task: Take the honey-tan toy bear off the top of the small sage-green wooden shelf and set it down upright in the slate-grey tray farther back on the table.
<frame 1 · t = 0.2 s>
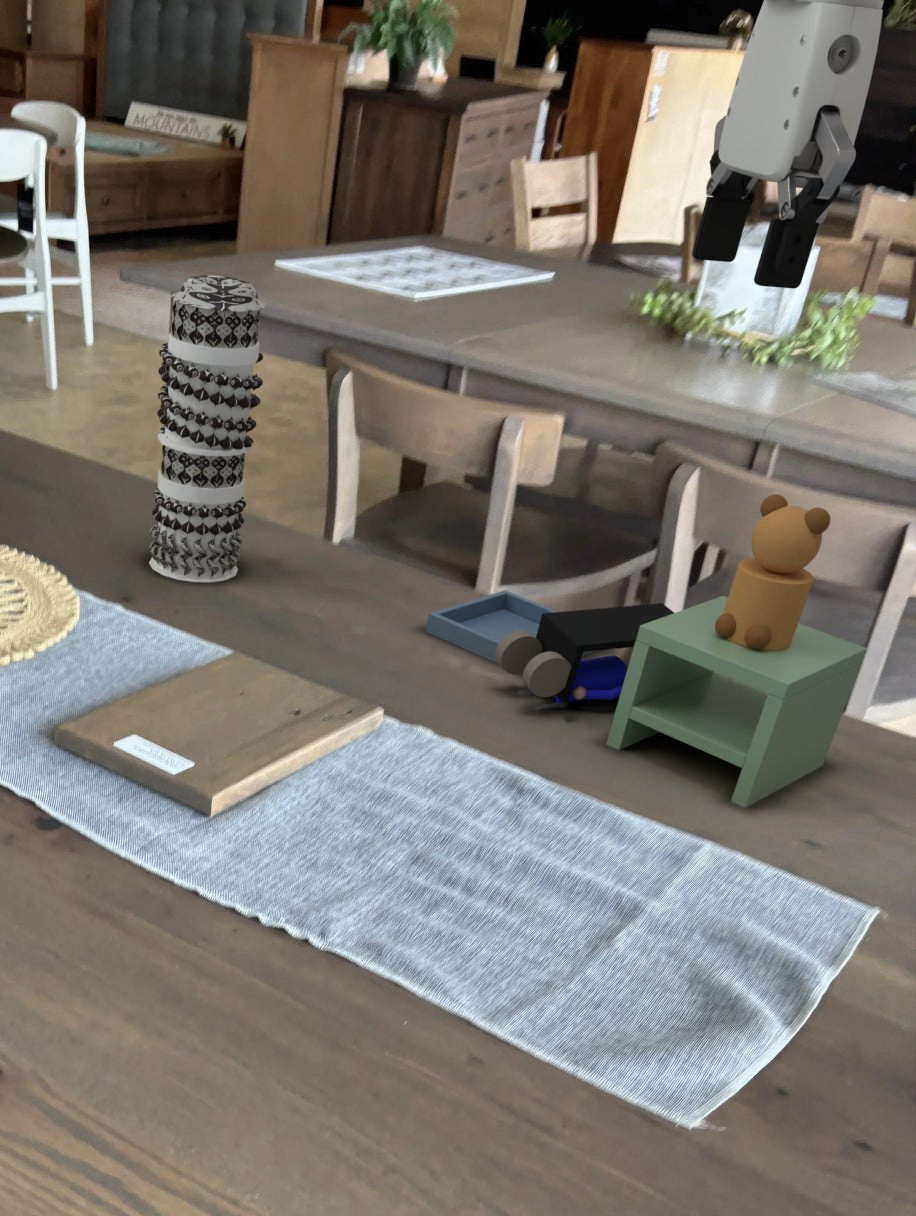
hand: (742, 272, 99), 32 cm above the table, tool pointing down, fingers open, 9 cm apart
shelf: (713, 758, 109), on the table
tray: (513, 643, 125), on the table
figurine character: (583, 704, 116), on the table
decorative candle: (192, 571, 134), on the table
toy bear: (754, 636, 104), point 10 cm above the table, touching shelf
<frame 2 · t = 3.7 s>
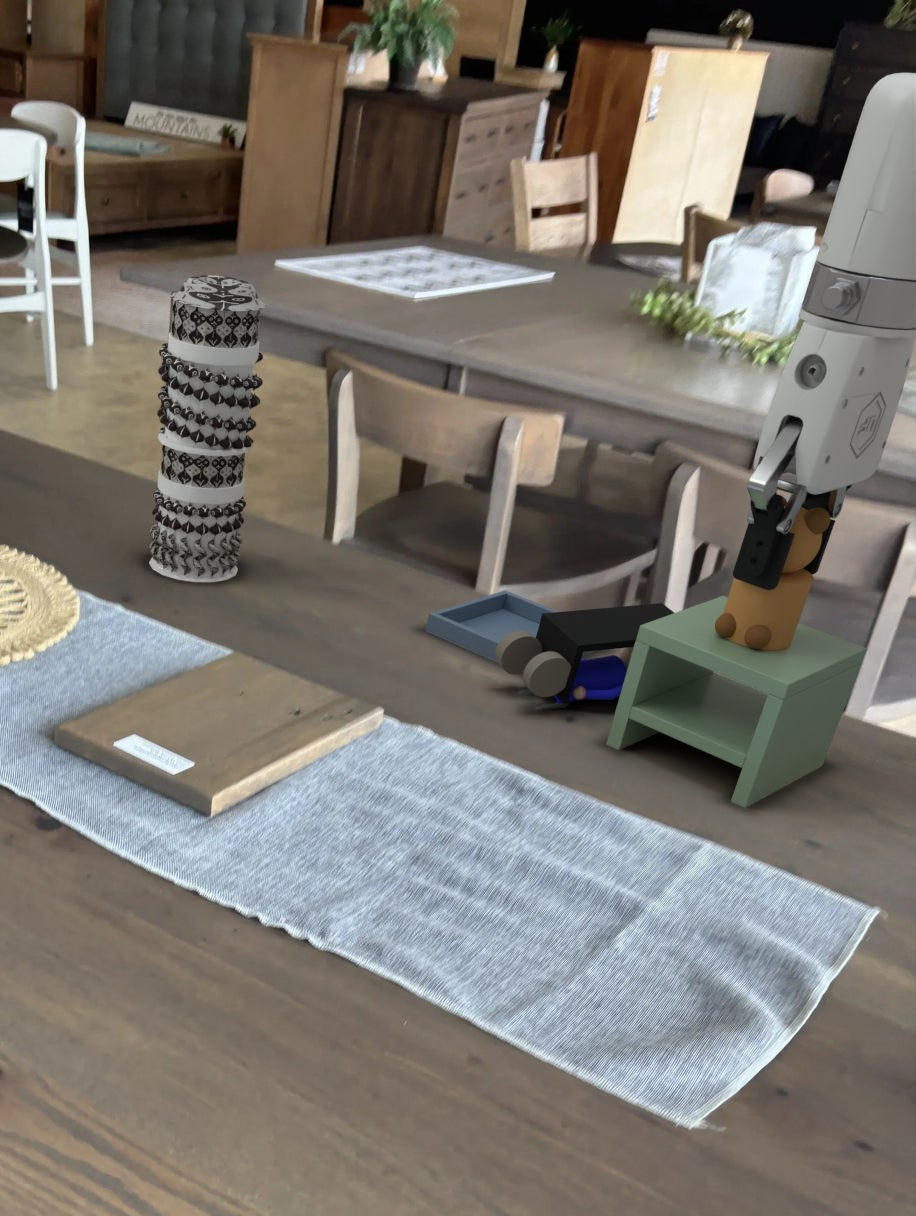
hand: (775, 573, 101), 15 cm above the table, tool pointing down, fingers closed on toy bear, 5 cm apart
toy bear: (754, 636, 104), point 10 cm above the table, touching gripper, shelf
everything else where it was.
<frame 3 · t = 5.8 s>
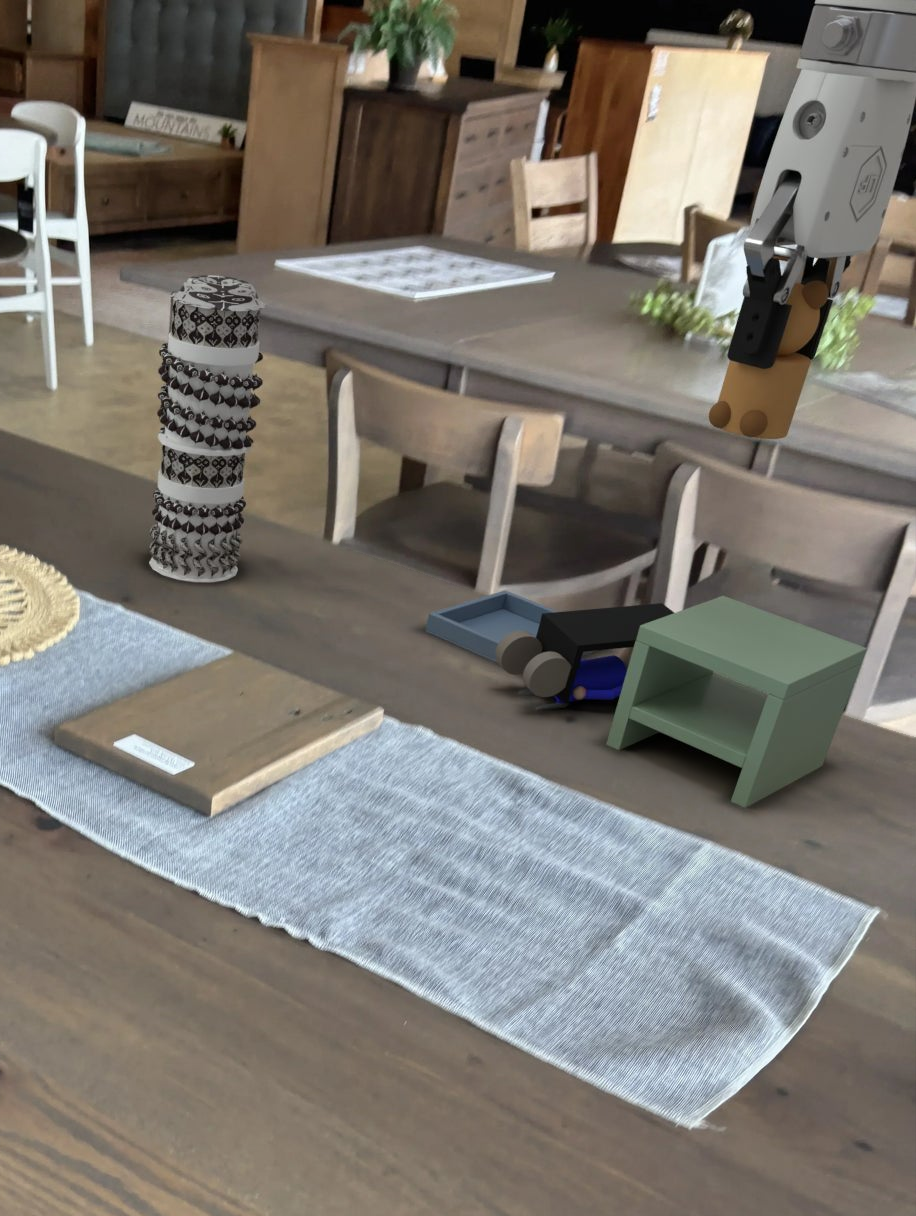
hand: (770, 357, 97), 28 cm above the table, tool pointing down, fingers closed on toy bear, 5 cm apart
toy bear: (749, 428, 100), point 23 cm above the table, touching gripper
everything else where it was.
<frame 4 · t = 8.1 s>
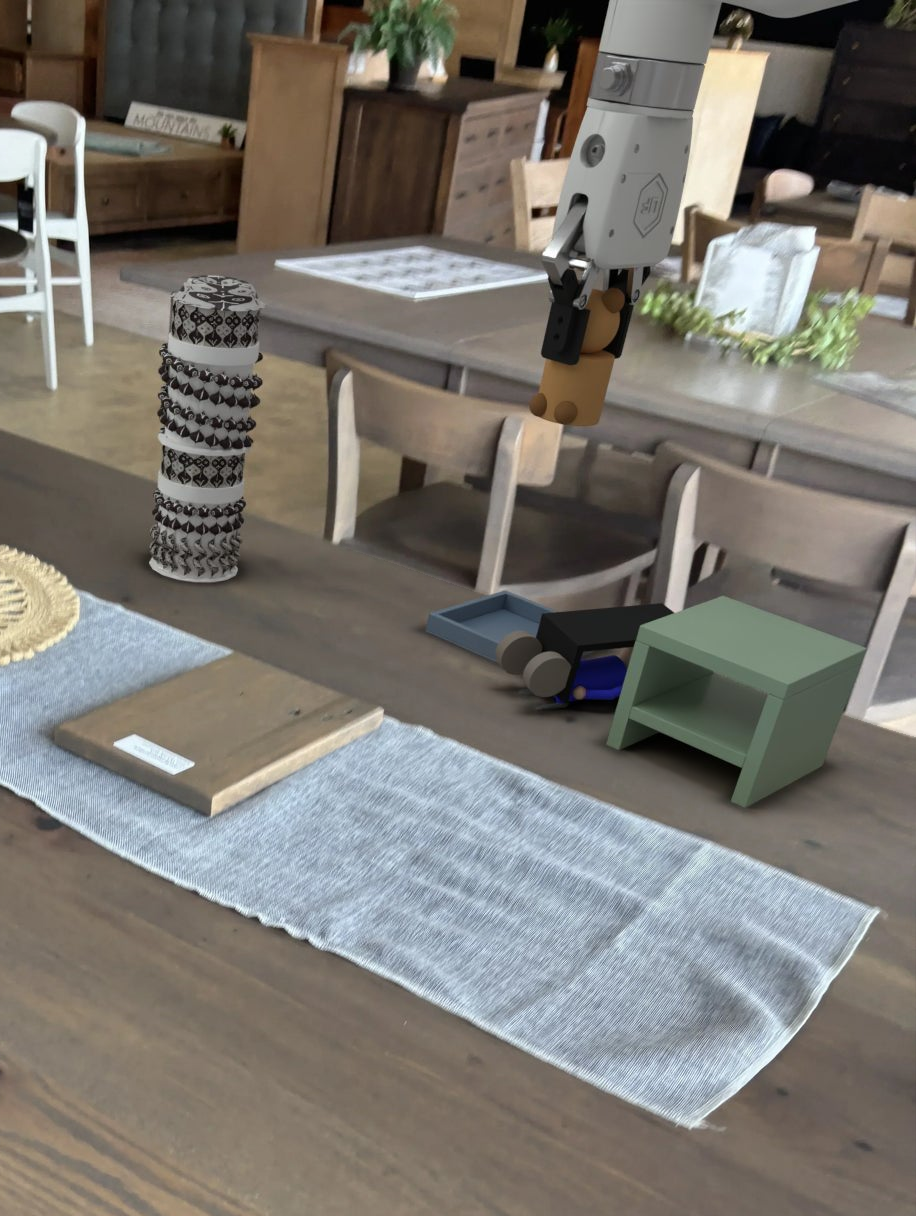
hand: (581, 355, 111), 24 cm above the table, tool pointing down, fingers closed on toy bear, 5 cm apart
toy bear: (566, 417, 114), point 19 cm above the table, touching gripper
everything else where it was.
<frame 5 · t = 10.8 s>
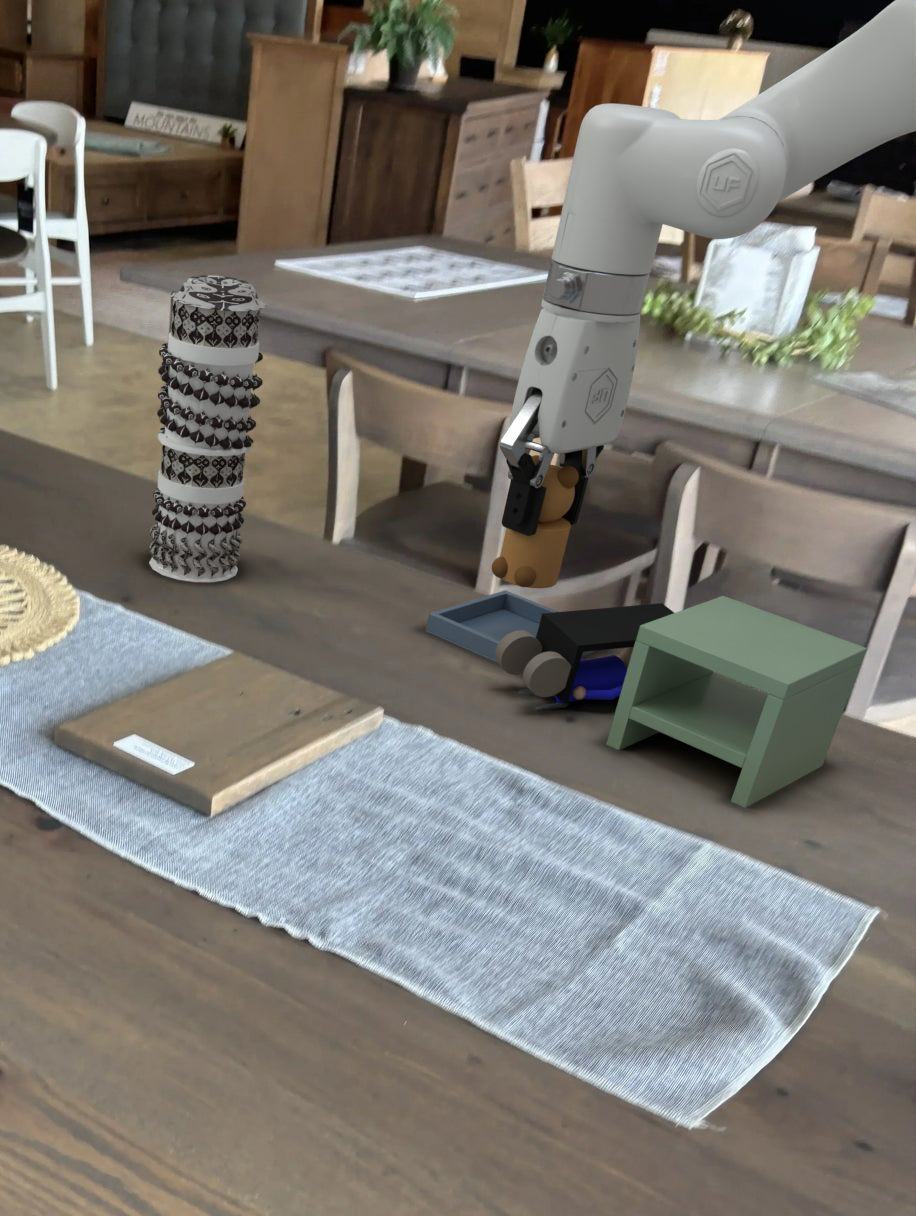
hand: (539, 523, 119), 11 cm above the table, tool pointing down, fingers closed on toy bear, 5 cm apart
toy bear: (526, 577, 122), point 6 cm above the table, touching gripper
everything else where it was.
when the fingers open (5 cm above the table, at t = 12.6 s): toy bear stays where it is, resting on tray.
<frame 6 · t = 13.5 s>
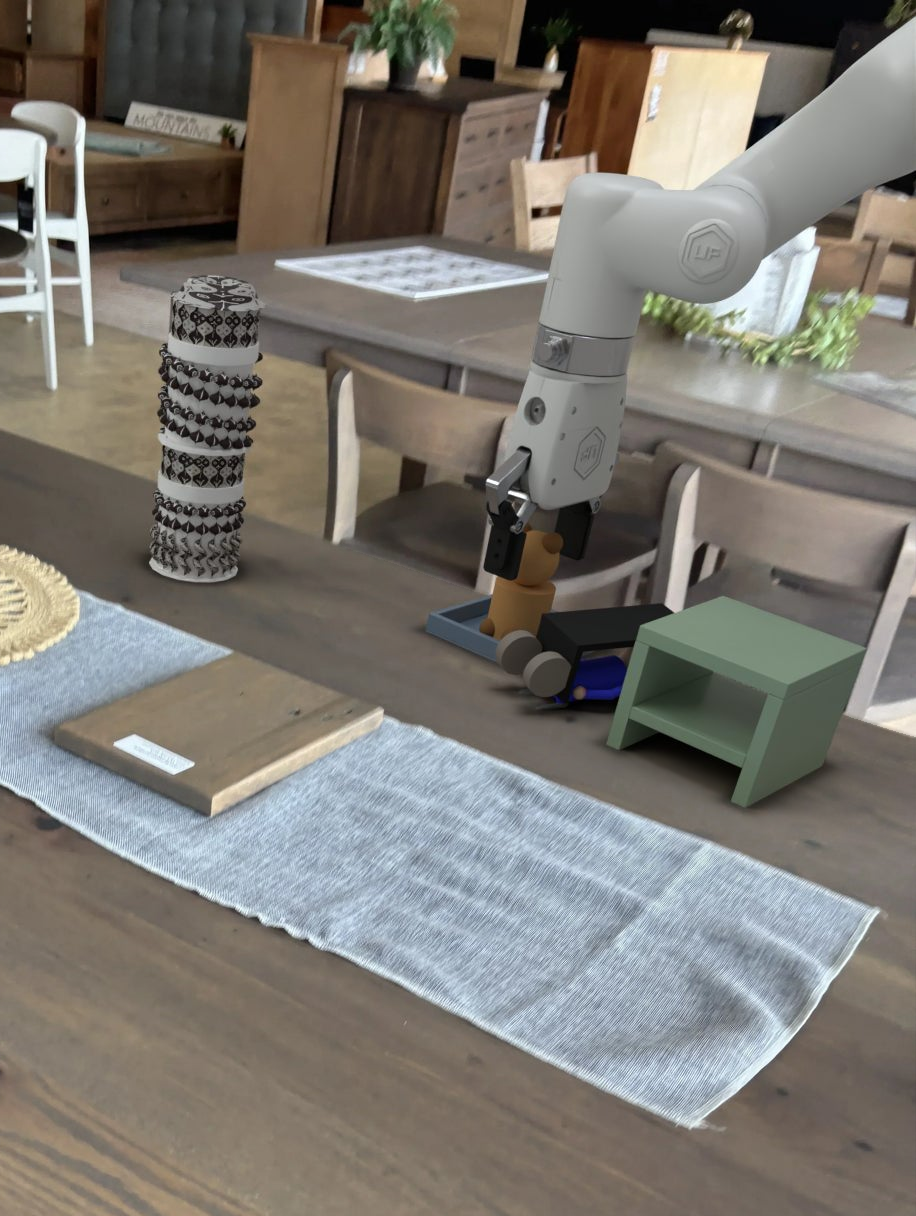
hand: (533, 565, 121), 7 cm above the table, tool pointing down, fingers open, 9 cm apart
toy bear: (513, 637, 125), resting on tray
everything else where it was.
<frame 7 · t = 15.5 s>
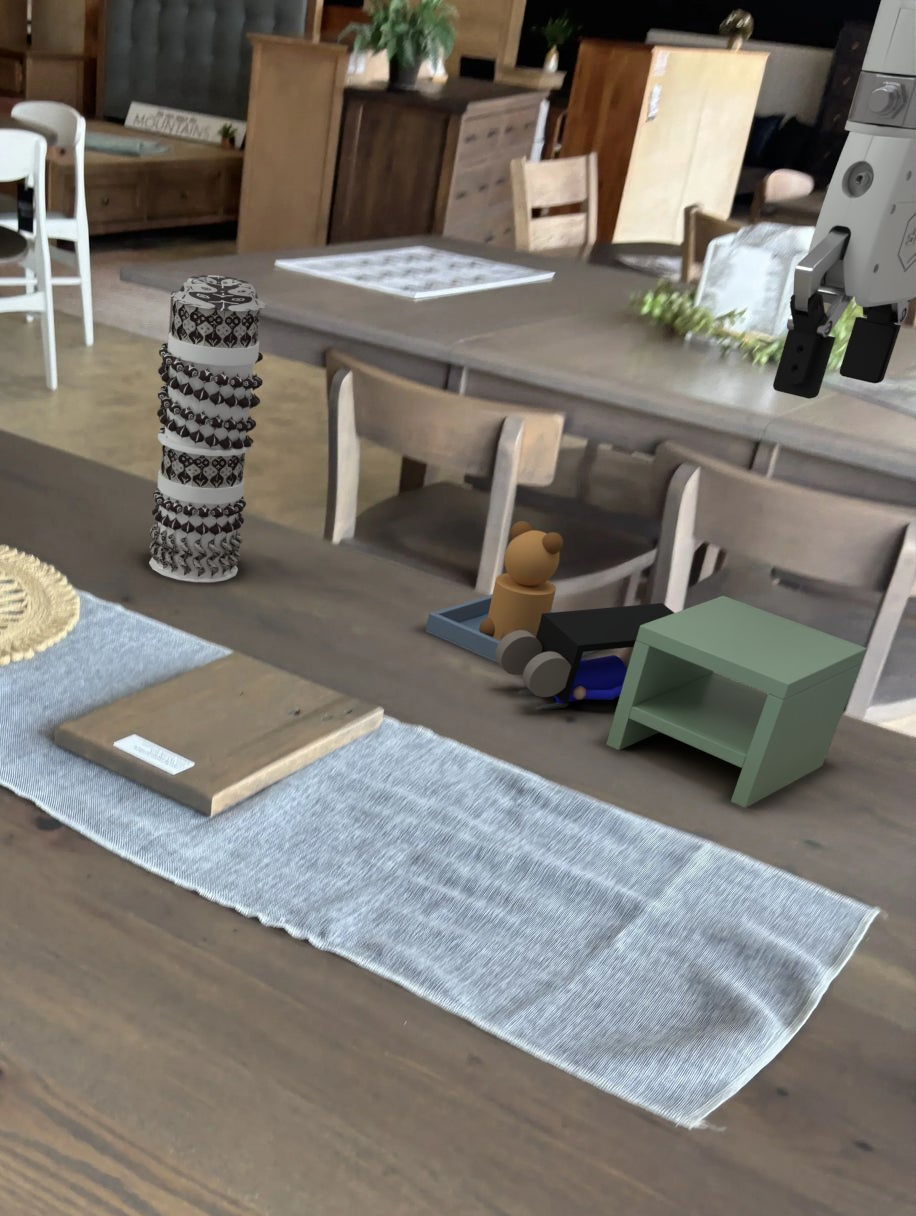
hand: (828, 386, 102), 26 cm above the table, tool pointing down, fingers open, 9 cm apart
nothing on the table moved.
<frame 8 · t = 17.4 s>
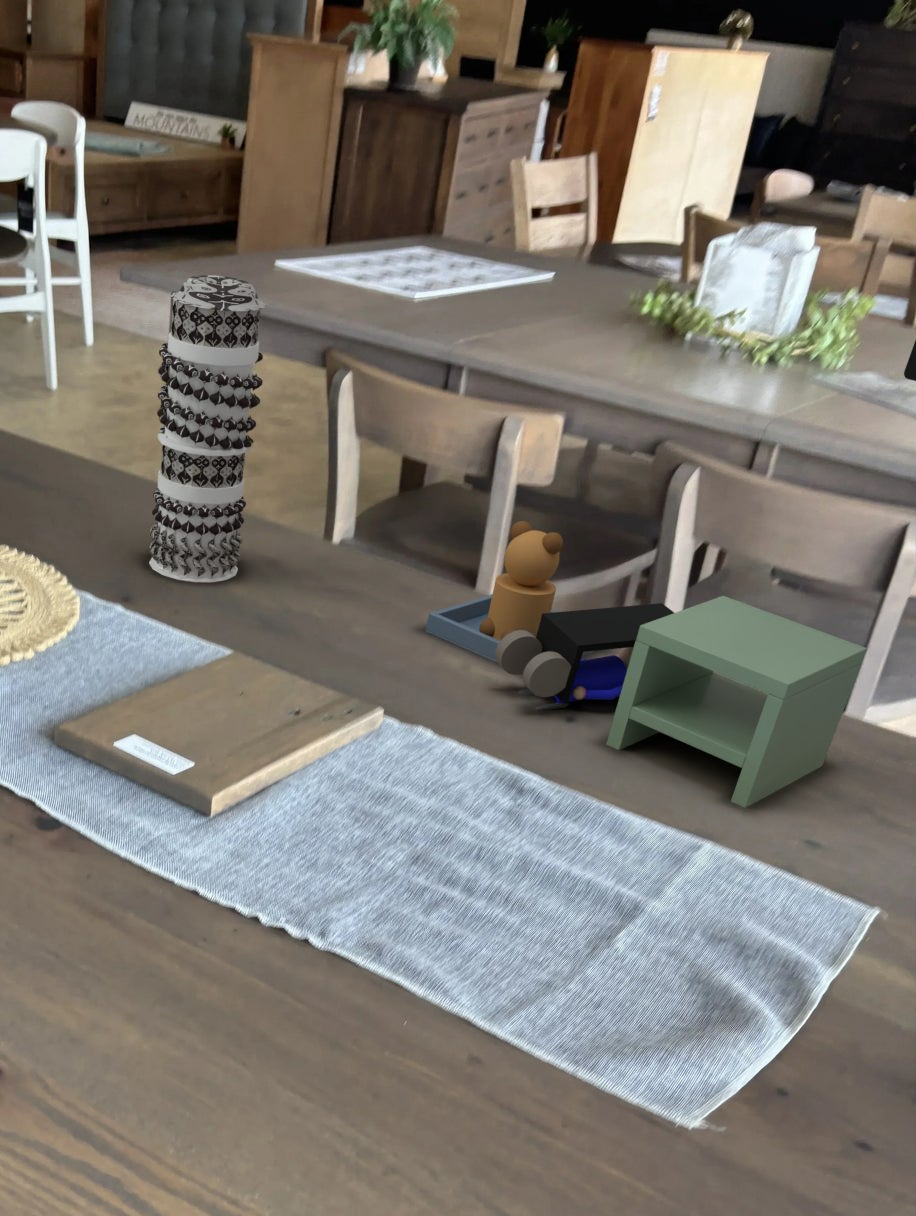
nothing on the table moved.
at the end: toy bear inside the target area in the tray (0.1 cm from its centre), point 0.5 cm above the tray's base; toy bear tilted 0°; the gripper is holding nothing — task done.
